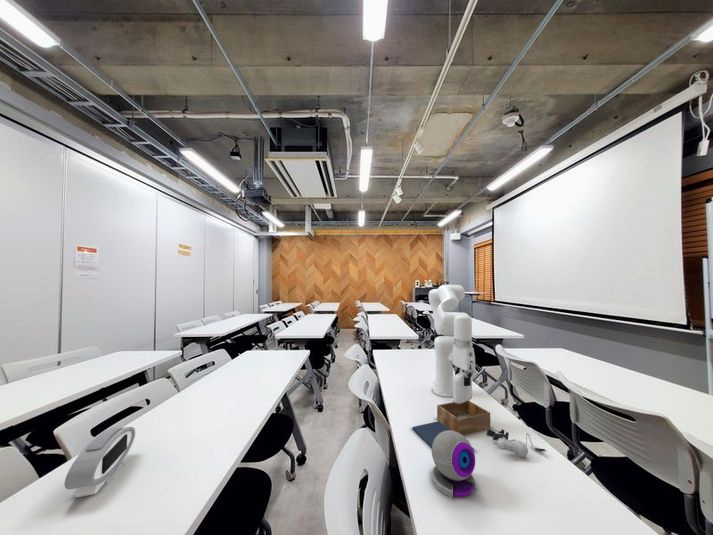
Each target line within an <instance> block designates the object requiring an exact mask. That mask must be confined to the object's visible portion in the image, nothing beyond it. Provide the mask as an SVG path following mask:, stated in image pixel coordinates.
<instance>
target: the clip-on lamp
mask: <svg viewBox="0 0 713 535" xmlns="http://www.w3.org/2000/svg"><path fill="white" fill-rule="evenodd" d="M486 436H488V437H491V440H492V444H493V445H496V444H497V447H498V448H499V449H500V450H504V451H506V452H511V453H514V454H515V455H516V456H518V457H519V458H526V457H527V456H528V453H529V448H528V439H529V442H530V445H531V447H532V448H533V449H534V450H535V451H537V452H541V453H543V452H548V450H547V449H545V448H539V447H534V445H533V443H532V442H533V441H532V439H531V436H530V434H529V433H528V432H527V433H526V434H525V442H524V441H522V440H519V439H511V440H510V439H509V436H510V433H509V432H507V431H506V432H505V429H502V428H501V429H500V430H496V429H491V428H489V429H486ZM494 441H495V442H494Z"/></svg>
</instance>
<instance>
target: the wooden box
mask: <svg viewBox="0 0 713 535" xmlns="http://www.w3.org/2000/svg"><path fill="white" fill-rule="evenodd" d="M464 415H468V416H465V417H461V418H459V417H460V416H464ZM436 420H437V421H440V422H441V423H442V424H443V425H445V426H446V427H447V428H448V429H450V430H451V431H455V432H458V433H460V434H462V435H463V436H465V435H468V434H474V433H478V432H481V431H485V430H487V429H491V411H488V410H486V409H484V408H482V407H481V406H479V405H477V404H475V403H474V402H473V401H471V400H469V401H466V402H464V403H461V404H457V403H455V402H454V401H450V402H445V403H442V404H441V403H440V404H437V405H436Z"/></svg>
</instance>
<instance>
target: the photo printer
mask: <svg viewBox="0 0 713 535" xmlns="http://www.w3.org/2000/svg"><path fill="white" fill-rule="evenodd" d="M467 373H469V372H468V371H467ZM464 377H465V372H464V371H461V373H458V374H457V375H455V374H454V375H453V397H452V402H455V403H457V404H461V403H464V402H466V401H471V400H472V398H473V376H472V377H471V385H470V386H464Z"/></svg>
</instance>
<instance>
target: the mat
mask: <svg viewBox="0 0 713 535" xmlns="http://www.w3.org/2000/svg"><path fill="white" fill-rule="evenodd" d="M411 430H412V431H414V433H415V434H416V435H418V437H419V438H420V439H421V440H422V441H424V443H426V444H427V446H428V447H430V448H431V449H432V445H433V441H434V439H435V438H436V436H437V435H438V434H439V433H441V432H443V431H448V430H450V429H449V428H447V427H446V426H445V425H444V424H442V423H441V422H440V421H438V420H437V421H433V422H429V423H424V424H420V425H419V424H418V425H416V426H412V429H411ZM450 431H451V430H450ZM472 448H473V451H474V452H475V448H474V447H473V446H472Z"/></svg>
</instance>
